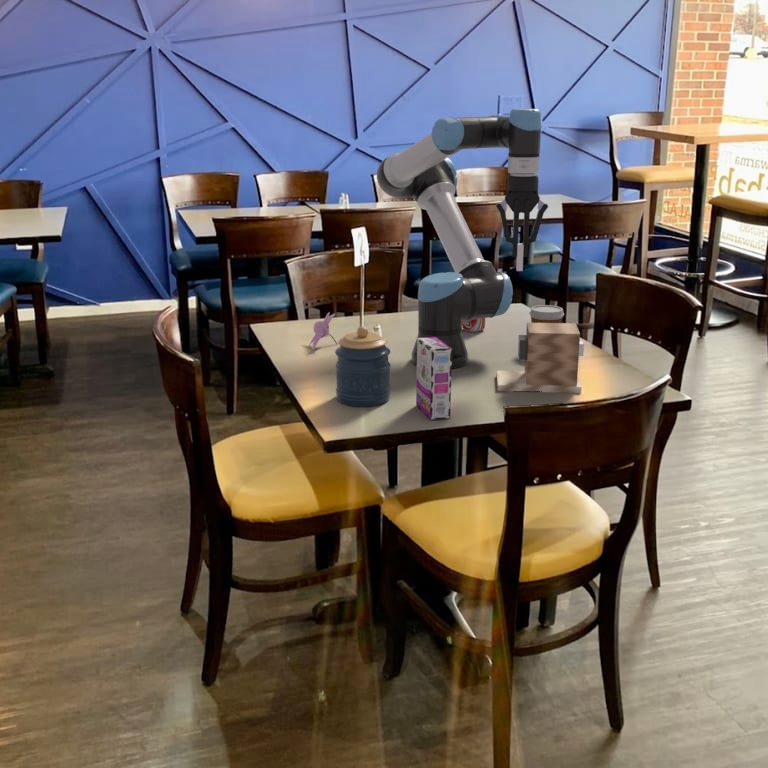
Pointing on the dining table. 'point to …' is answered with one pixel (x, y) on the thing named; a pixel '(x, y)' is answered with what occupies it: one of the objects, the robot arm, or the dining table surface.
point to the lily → (321, 330)
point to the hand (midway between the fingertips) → (519, 269)
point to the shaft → (524, 347)
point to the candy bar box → (433, 378)
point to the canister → (362, 369)
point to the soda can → (474, 325)
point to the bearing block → (547, 361)
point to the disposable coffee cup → (546, 314)
